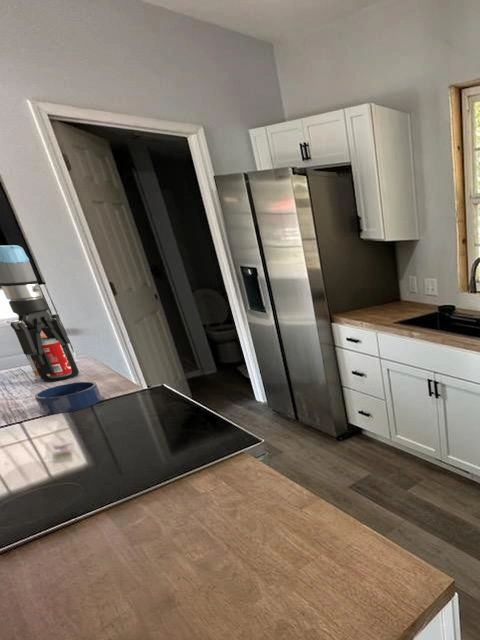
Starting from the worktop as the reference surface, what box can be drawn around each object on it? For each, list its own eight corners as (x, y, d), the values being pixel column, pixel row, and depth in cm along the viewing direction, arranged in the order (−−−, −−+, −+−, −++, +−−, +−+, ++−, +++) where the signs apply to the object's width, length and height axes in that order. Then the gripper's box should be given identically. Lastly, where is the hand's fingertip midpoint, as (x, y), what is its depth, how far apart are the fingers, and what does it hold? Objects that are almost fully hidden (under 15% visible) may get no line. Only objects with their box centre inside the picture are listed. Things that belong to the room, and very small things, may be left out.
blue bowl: (28, 415, 130) (20, 399, 128) (67, 397, 144) (60, 383, 142) (79, 412, 132) (72, 396, 130) (112, 394, 146) (107, 380, 144)
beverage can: (52, 374, 135) (36, 339, 131) (76, 371, 138) (61, 336, 133) (44, 379, 131) (27, 343, 126) (68, 376, 133) (53, 340, 129)
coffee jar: (34, 381, 159) (13, 336, 153) (67, 372, 169) (49, 329, 162) (54, 383, 157) (34, 337, 150) (87, 374, 167) (69, 330, 160)
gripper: (10, 303, 117) (45, 379, 125) (66, 293, 134) (93, 360, 143) (-21, 304, 116) (16, 381, 124) (40, 294, 133) (69, 361, 142)
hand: (57, 370), depth 134 cm, fingers closed on beverage can, 6 cm apart
